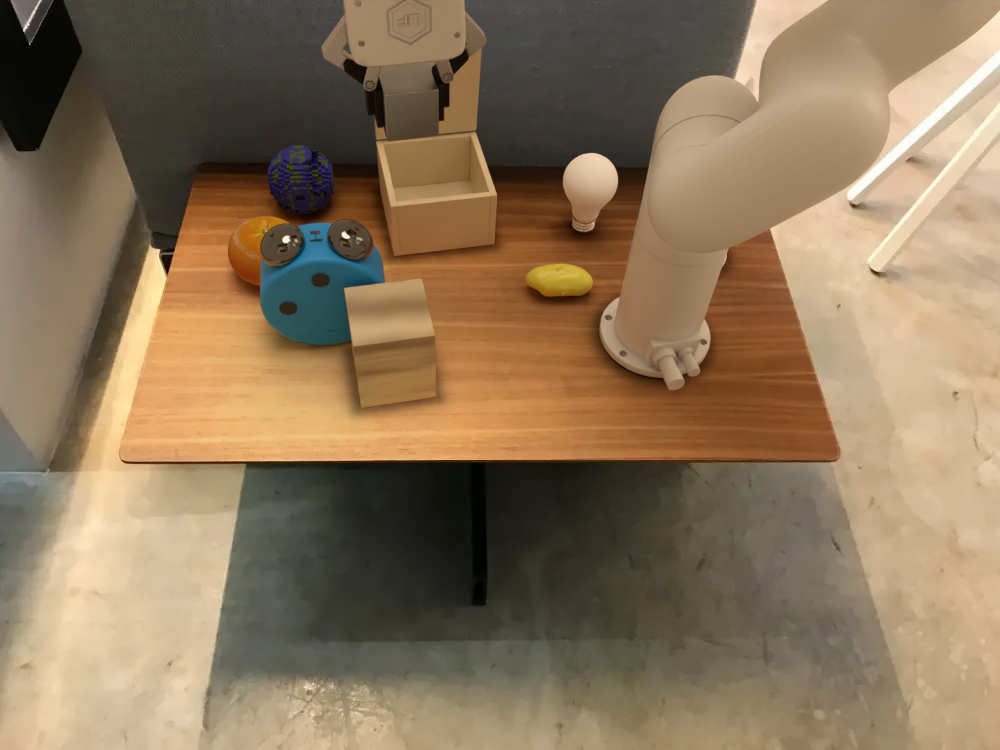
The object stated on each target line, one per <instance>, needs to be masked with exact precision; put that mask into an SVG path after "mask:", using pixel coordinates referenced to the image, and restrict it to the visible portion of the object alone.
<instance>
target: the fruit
mask: <svg viewBox="0 0 1000 750" xmlns="http://www.w3.org/2000/svg"><path fill="white" fill-rule="evenodd" d="M284 223H287V224H291V223H290V222H288V221H286V220H285V219H283V218H279V217H276V216H271V215H263V216H262V215H261V216H256V217H252V218H250V219H247V220H246V221H243V223H241V224H239V226H238V227H236V229H234V230H233V231H232V233H231V236H230V237H229V240H228V244H227V259H228V262H229V263H230V266H231V268H232V269H233V271H234V272H235V273H236V275H237V276H238V277H239V278H241V279H242V280H243V281H245V282H246V283H247V282H248V283H250V284H252V285H255V286H258V287H260V266H261V260H262V257H261V255H260V243H261V240H262V238H263V236H264V235H265V233H266V232H267V231H268V230H269V229H271V228H272V227H274V226H276V225H279V224H284Z"/></svg>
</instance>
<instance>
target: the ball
mask: <svg viewBox="0 0 1000 750" xmlns="http://www.w3.org/2000/svg"><path fill="white" fill-rule="evenodd" d="M267 176H268V177H267V180H268V187H269V193H270V196H272V198H273V200H275V201H276V202H277V203H276V204H278V205H280V208H283V210H285V211H289V212H291V213H295V214H297V215H305V214H306V215H307V214H308V215H309V214H313V213H314V212H318V210H321V209H322V210H323V209H324V207H326V206H327V203H329V202H330V200H331V199H333V198H332V197H333V196H332V195H334V194H335V179H334V178H335V177H334V169H333V164H332V163H330V161H329V158H327V157H326V155H323V152H320V151H319V150H316V149H313V148H310V146H307V144H292V145H290V146H288V147H285V148H284V149H282V150H279V151H278V152H277V153H276V155H275V156H274V157H272V160H270V164H269V165H268V169H267Z"/></svg>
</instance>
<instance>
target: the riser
mask: <svg viewBox="0 0 1000 750" xmlns="http://www.w3.org/2000/svg"><path fill="white" fill-rule="evenodd" d="M423 282H424V281H423V278H422V277H421V278H412V279H405V280H397V281H388V282H385V283H380V284H372V285H364V286H356V287H348V288H344V292H345V300H346V307H347V315H348V322H349V329H350V337H351V341H350V343H351V344H350V345H351V352H352V357H353V363H354V371H355V377H356V384H357V389H358V396H359V402H360V408H361V409H364V408H365V409H366V408H372V407H377V406H384V405H392V404H398V403H399V404H400V403H407V402H412V401H418V400H425V399H431V398H432V399H433V398H437V367H436V365H437V362H436V361H437V360H436V359H437V358H436V333H435V328H434V325H433V320H432V317H431V312H430V308H429V304H428V299H427V295H426V291H425V287H424V283H423Z"/></svg>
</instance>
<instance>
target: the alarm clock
mask: <svg viewBox="0 0 1000 750" xmlns="http://www.w3.org/2000/svg"><path fill="white" fill-rule="evenodd" d="M374 242H375V241H374V237H373V235H372V233H371V231H370V230H369V228H367V226H365V224H363V223H361V222H360V221H358V220H356V219H352V218H342V219H339V220H336V221H334V222H333V223H332V222H331V223H330V222H313V223H307V224H301V225H298V226H297V225H295V224H293V223H290V224H287V223H284V224H279V225H276V226H274V227H272V228H271V229H269V230H268V231H267V232H266V233H265V235H264V236H263V238H262V240H261V243H260V255H261V257H262V260H261V266H260V286H259V294H260V295H259V296H260V297H259V299H260V300H259V303H260V309H261V312H262V315H263V317H264V319H265V320H266V322H267V324H269V326H271V328H273V329H274V330H275V332H277V333H279V334H280V335H282V336H284V337H285V338H288V339H290V340H292V341H295V342H299V343H302V344H307V345H314V346H332V345H339V344H344V343H348V342H351V337H350V329H349V322H348V315H347V307H346V300H345V292H344V288H348V287H356V286H364V285H372V284H380V283H386V277H385V268H384V260H383V258H382V257H383V256H382V255H381V253H380V251H379V249H378V248H377V246H376V245H375V243H374Z"/></svg>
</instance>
